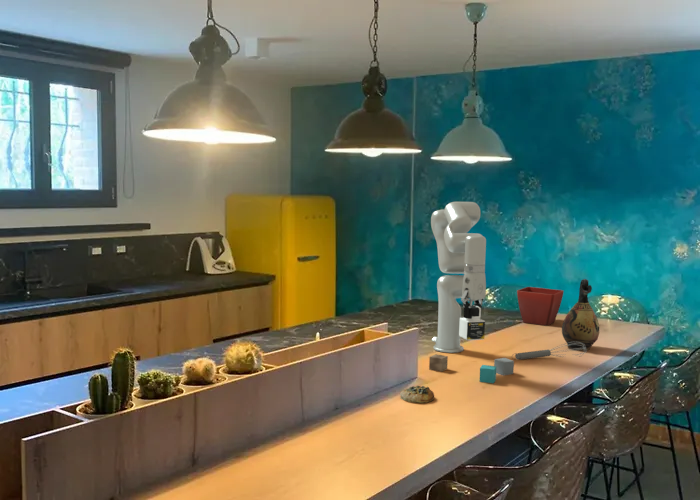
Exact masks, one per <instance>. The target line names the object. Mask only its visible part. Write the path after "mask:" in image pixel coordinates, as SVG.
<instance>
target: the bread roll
mask: <svg viewBox="0 0 700 500" xmlns="http://www.w3.org/2000/svg"><path fill="white" fill-rule="evenodd" d="M399 396H400V400H403V401H405V402H408V403H418V404H427V403H430V402H432V401H434V399H435V393H434V392H433V390H432V389H430V387H428V386H427V387H425V386H424V385H422V386H421V385H416V386H415V385H413V386H409V387H408V388H405V389H403V390H401V391H400V393H399Z"/></svg>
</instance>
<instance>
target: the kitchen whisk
mask: <svg viewBox="0 0 700 500" xmlns="http://www.w3.org/2000/svg"><path fill="white" fill-rule="evenodd" d="M569 343H570V342H569ZM579 343H580V342H579ZM565 344H566V345H565ZM574 344H576V343H574ZM581 344H582V345H583V343H581ZM569 345H570V344H569ZM566 346H568V345H567V342H565V343H563V344H560V345H558V346H556V347H552V349H541V350H533V351H527V352H526V351H525V352H519V353H517V352H515V353H513V354H512V356H514V355H515V359H514V358H513V357H511V359H512V360H513V361H515V360H518V361H519V360H527V359H528V360H529V359H535V358H536V359H537V358H545V357H551V356H555V357H560V358H561V357H562V356H565V354H560V353H559V350H557V349H561V348H563V347H566ZM580 346H581V345H580ZM583 346H584V345H583ZM577 349H579V348H577ZM584 349H586V348H584ZM554 350H556V351H554ZM579 350H580V349H579ZM579 350H578V351H579ZM568 351H571V352H573V351H575V350H573V349H569V348H568ZM580 351H581V350H580ZM587 351H588V350H585V351H583V352H580V353H579V354H578V353H577V354H576V353H575V354H573V356H578V357H581V354H582V356H584V354H586V353H587ZM561 352H562V353H563V352H567V350H565V349H564V350H561ZM579 355H580V356H579Z"/></svg>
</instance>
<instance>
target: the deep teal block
mask: <svg viewBox="0 0 700 500" xmlns="http://www.w3.org/2000/svg"><path fill="white" fill-rule="evenodd" d="M496 381H497V373H496V366H494V365H487V364H482V365H480V368H479V382H480V383H486V384H487V383H488V384H494V383H495V382H496Z"/></svg>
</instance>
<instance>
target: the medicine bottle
mask: <svg viewBox="0 0 700 500" xmlns="http://www.w3.org/2000/svg"><path fill="white" fill-rule="evenodd" d="M471 308H472V319H468V318H464V317H461V318H460V325H459V336H460V338H461V339H464V340H465V341H480V340H482V341H484V340H485V330H486V329H485V327H486V320H484V319H482V318H481V317H482V308H480V307H478V306H473V305H472V306H471Z"/></svg>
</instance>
